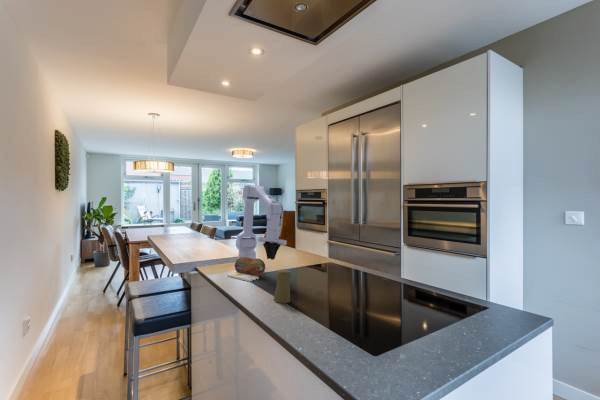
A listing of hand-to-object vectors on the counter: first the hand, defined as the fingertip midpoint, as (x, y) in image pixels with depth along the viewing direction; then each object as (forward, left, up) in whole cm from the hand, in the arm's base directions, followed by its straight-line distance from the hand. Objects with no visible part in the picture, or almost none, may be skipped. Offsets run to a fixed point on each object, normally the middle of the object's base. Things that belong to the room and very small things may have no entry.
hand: (270, 258), depth 137 cm
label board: (+6, -11, -9) cm, 15 cm away
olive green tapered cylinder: (+21, +20, -10) cm, 31 cm away
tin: (0, -12, -10) cm, 15 cm away
